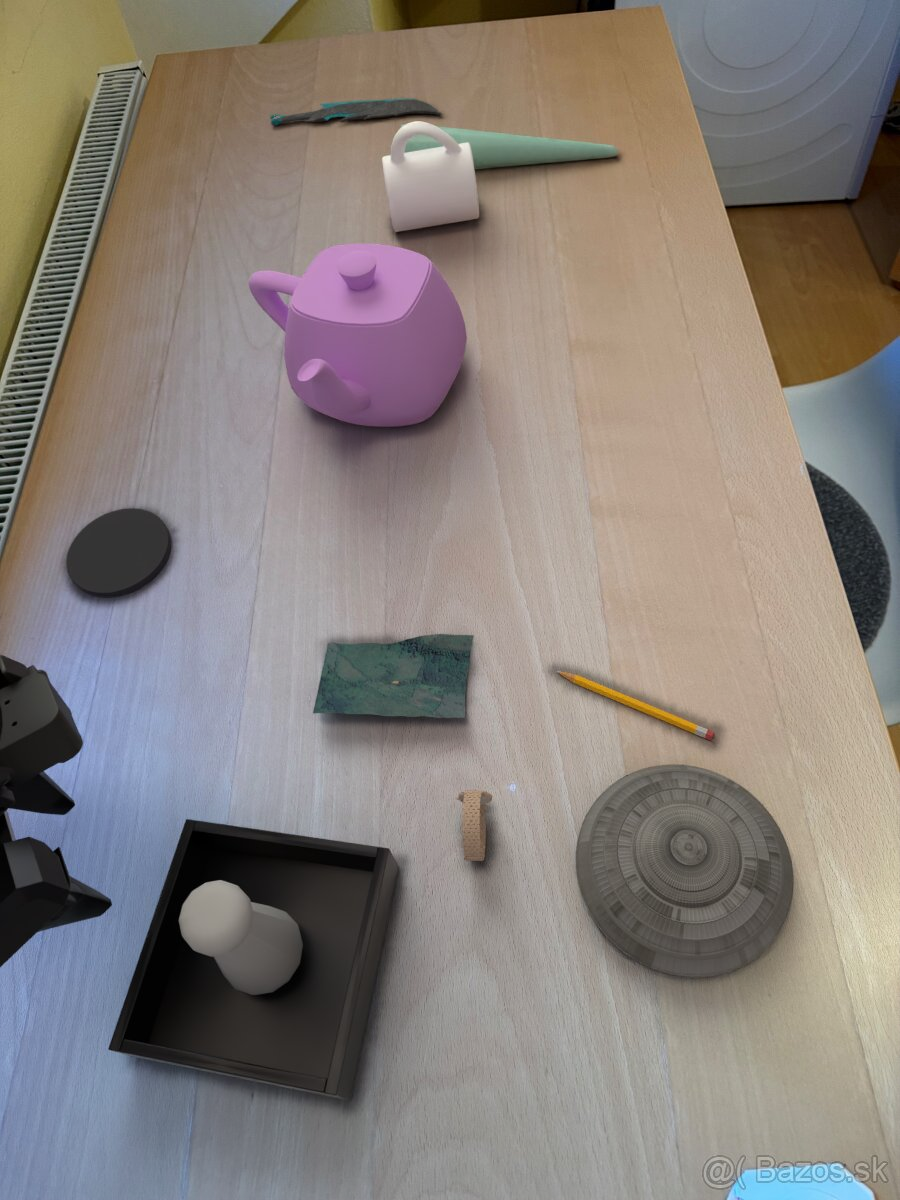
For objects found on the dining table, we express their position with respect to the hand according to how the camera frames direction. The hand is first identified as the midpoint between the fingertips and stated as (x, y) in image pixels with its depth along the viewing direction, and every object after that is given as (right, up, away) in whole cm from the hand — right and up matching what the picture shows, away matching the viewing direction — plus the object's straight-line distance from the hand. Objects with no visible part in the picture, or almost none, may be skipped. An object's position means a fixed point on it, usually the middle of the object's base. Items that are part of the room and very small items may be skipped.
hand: (87, 855), depth 59 cm
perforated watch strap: (+26, -1, +9) cm, 27 cm away
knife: (+11, +84, +66) cm, 108 cm away
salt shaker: (+11, -9, +6) cm, 15 cm away
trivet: (-8, +21, +28) cm, 36 cm away
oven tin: (+11, -9, +6) cm, 15 cm away
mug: (+22, +63, +51) cm, 84 cm away
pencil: (+38, +8, +14) cm, 42 cm away
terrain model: (+19, +10, +17) cm, 28 cm away
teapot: (+17, +39, +37) cm, 56 cm away
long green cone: (+32, +72, +56) cm, 97 cm away
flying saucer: (+40, -3, +6) cm, 41 cm away
